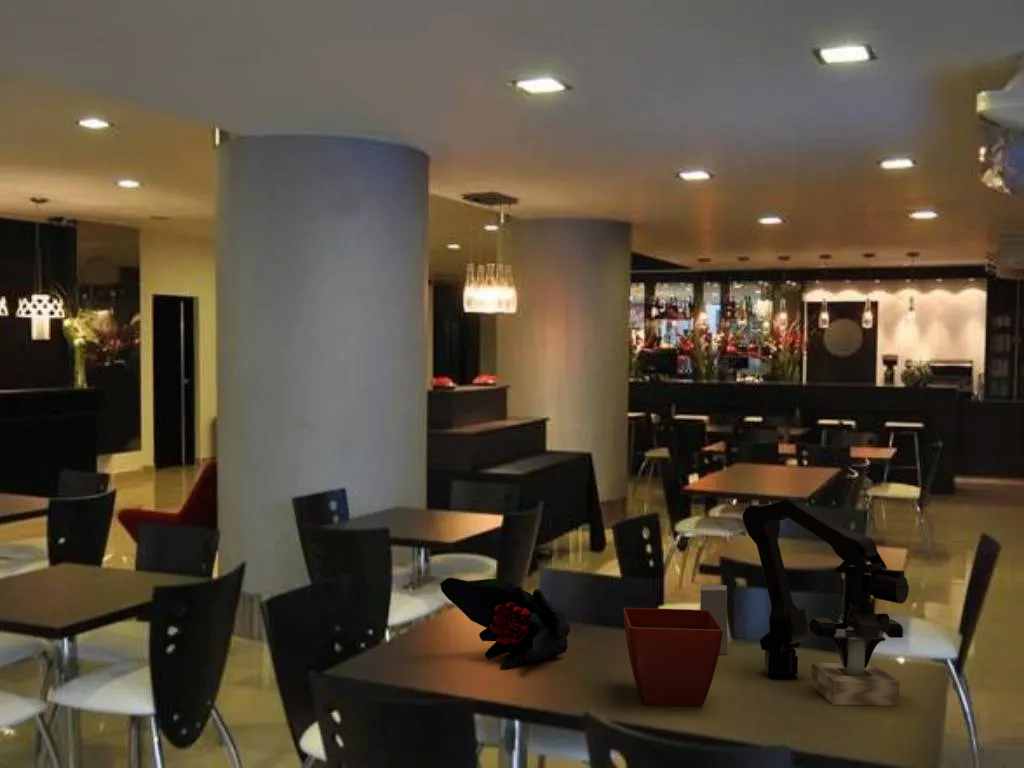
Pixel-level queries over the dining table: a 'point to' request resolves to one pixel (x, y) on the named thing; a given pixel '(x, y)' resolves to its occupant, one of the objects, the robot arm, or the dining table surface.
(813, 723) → the dining table surface
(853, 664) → the sage peg
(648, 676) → the plant pot
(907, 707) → the dining table surface
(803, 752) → the dining table surface
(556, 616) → the decorative plant
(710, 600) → the skincare box
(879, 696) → the socket block
